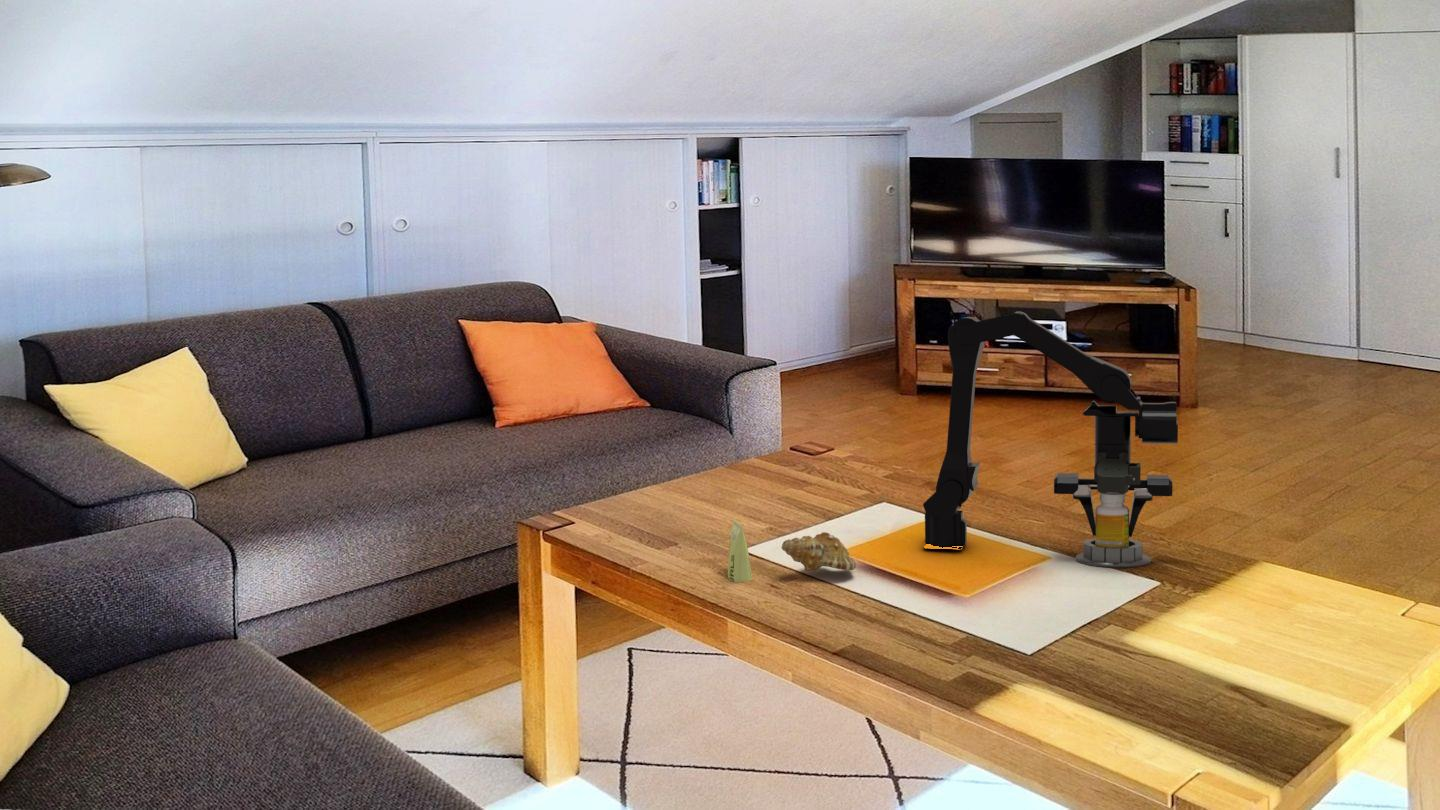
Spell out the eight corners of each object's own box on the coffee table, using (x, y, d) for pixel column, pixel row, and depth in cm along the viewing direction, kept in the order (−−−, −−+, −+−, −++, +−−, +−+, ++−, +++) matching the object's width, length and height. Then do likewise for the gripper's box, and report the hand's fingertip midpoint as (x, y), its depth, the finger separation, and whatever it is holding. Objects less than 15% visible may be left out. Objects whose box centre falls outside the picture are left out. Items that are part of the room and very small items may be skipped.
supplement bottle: (1130, 554, 221) (1130, 495, 220) (1096, 553, 222) (1096, 495, 221) (1127, 547, 226) (1127, 490, 226) (1094, 547, 228) (1094, 490, 227)
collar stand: (1074, 566, 220) (1074, 549, 220) (1076, 552, 232) (1076, 535, 232) (1151, 569, 217) (1151, 551, 217) (1149, 554, 229) (1149, 537, 228)
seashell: (826, 595, 215) (793, 543, 214) (803, 596, 222) (771, 545, 221) (867, 562, 219) (835, 511, 218) (842, 563, 226) (811, 514, 225)
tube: (717, 640, 222) (714, 523, 220) (736, 634, 226) (733, 518, 224) (744, 645, 218) (741, 525, 217) (763, 638, 222) (760, 521, 221)
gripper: (1052, 448, 218) (1052, 543, 219) (1174, 449, 212) (1173, 547, 214) (1055, 440, 228) (1055, 530, 230) (1171, 441, 223) (1170, 534, 225)
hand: (1112, 535), depth 224 cm, fingers closed on supplement bottle, 5 cm apart
